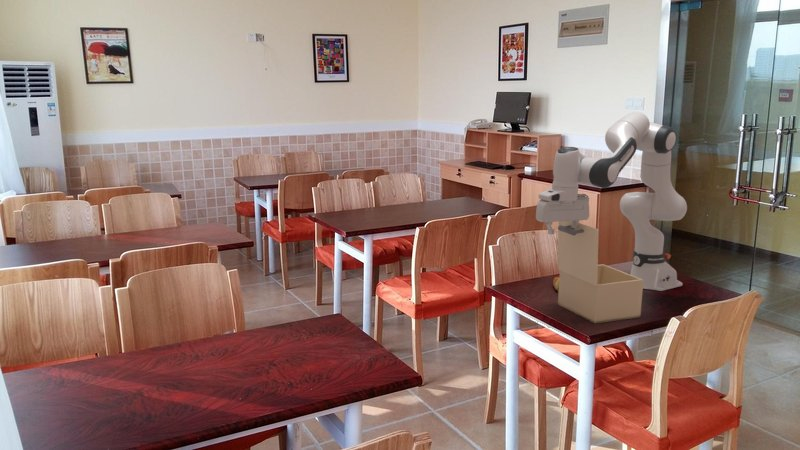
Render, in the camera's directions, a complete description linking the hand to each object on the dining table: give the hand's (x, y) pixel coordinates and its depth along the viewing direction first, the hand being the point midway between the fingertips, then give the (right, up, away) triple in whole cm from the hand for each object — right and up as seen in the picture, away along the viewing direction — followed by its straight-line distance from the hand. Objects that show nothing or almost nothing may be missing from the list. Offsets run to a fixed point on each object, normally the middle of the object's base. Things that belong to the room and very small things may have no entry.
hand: (561, 233), depth 229 cm
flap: (+7, -6, +4) cm, 10 cm away
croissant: (+11, -24, +36) cm, 45 cm away
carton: (+17, -29, +13) cm, 36 cm away
